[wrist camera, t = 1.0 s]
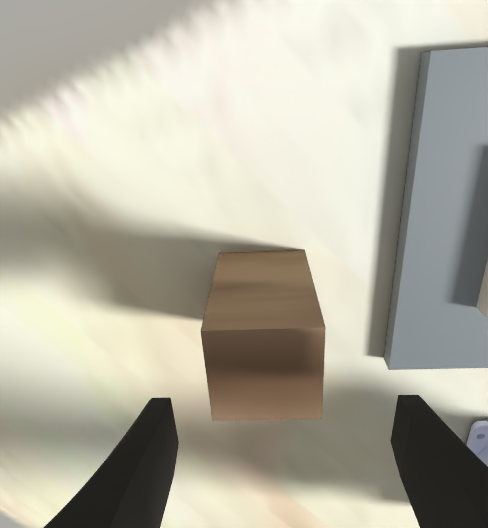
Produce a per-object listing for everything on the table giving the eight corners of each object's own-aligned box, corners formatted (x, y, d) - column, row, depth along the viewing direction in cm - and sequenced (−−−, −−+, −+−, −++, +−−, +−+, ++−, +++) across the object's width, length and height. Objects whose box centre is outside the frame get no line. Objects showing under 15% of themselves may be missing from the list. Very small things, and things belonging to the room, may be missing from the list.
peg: (303, 321, 22) (321, 418, 15) (225, 323, 22) (212, 420, 16) (304, 249, 20) (325, 327, 14) (219, 253, 20) (200, 330, 14)
